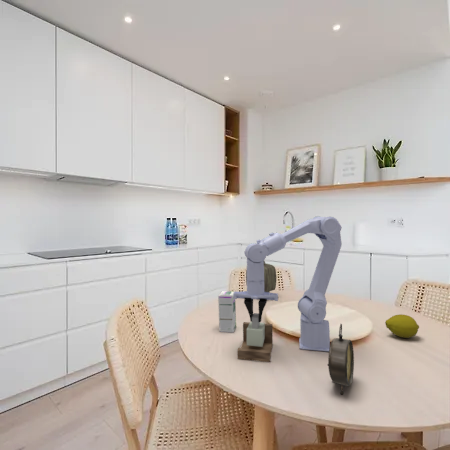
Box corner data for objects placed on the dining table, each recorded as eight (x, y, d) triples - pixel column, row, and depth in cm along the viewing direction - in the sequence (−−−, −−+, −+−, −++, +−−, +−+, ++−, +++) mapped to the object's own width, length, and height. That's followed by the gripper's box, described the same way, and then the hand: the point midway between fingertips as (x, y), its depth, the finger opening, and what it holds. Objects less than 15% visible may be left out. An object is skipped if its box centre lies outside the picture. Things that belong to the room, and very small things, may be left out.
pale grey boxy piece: (264, 337, 99) (264, 312, 100) (262, 346, 92) (262, 319, 92) (250, 336, 101) (250, 311, 101) (246, 345, 93) (246, 318, 93)
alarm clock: (348, 399, 70) (348, 333, 70) (325, 392, 73) (324, 329, 73) (355, 377, 80) (355, 318, 79) (334, 372, 83) (334, 315, 82)
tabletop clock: (276, 298, 154) (276, 251, 153) (265, 302, 147) (265, 253, 146) (255, 293, 164) (255, 249, 163) (244, 296, 158) (244, 250, 157)
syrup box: (233, 332, 111) (233, 295, 110) (218, 331, 112) (218, 294, 111) (236, 327, 116) (235, 291, 116) (221, 326, 117) (221, 290, 117)
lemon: (416, 334, 107) (416, 312, 106) (423, 343, 99) (423, 320, 99) (383, 330, 110) (383, 310, 110) (387, 339, 103) (387, 317, 102)
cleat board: (272, 343, 101) (272, 324, 100) (269, 362, 89) (269, 339, 88) (244, 341, 103) (243, 322, 103) (237, 358, 91) (237, 336, 91)
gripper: (231, 282, 94) (232, 323, 94) (277, 283, 90) (277, 327, 91) (235, 277, 100) (236, 316, 101) (278, 278, 97) (278, 318, 98)
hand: (255, 320), depth 96 cm, fingers closed on pale grey boxy piece
